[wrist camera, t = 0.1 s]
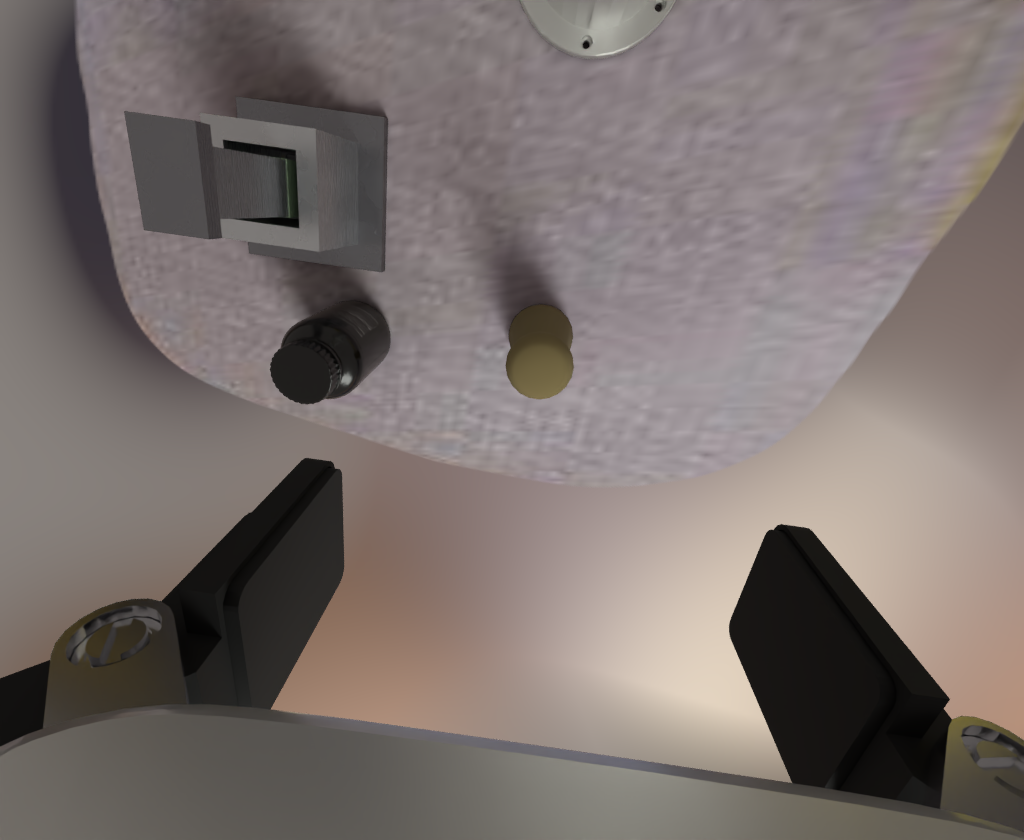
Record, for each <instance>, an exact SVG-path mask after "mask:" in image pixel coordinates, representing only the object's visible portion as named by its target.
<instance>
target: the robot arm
mask: <svg viewBox="0 0 1024 840" xmlns="http://www.w3.org/2000/svg"><path fill="white" fill-rule="evenodd" d="M675 1H676V0H520V2H521V5H522V8H523V10H524V12H525V14H526V16H527V17H528V19H529V21H530V22H531V24H532V26H533V27H534V28H535V29H536V31H537V32H538V33H539V34H540V35H541V36H542V37H543V39H544V40H546V41H547V42H548V43H550V44H551V45H552V46H554V47H555V48H556V49H558V50H560V51H562V52H564V53H566V54H569V55H571V56H574V57H579V58H584V59H604V58H608V57H612V56H616V55H619V54H622V53H624V52H625V51H627V50H629V49H631V48H633V47H635V46H637V45H638V44H639V43H641V42H642V41H643V40H644V39H646V38H647V37H648V36H650V35H651V33H652V32H653V31H654V30H655V29H656V28H657V27H658V26H659V25H660V24H661V22H662V21H663V20H664V19H665V17H666V16H667V14H668V13H669V11H670V10H671V8H672V6H673V5H674V3H675ZM656 5H660V7H661V11H660V12H657V11H656V10H655V6H656ZM584 42H587V43H589V48H588V49H584V48H583V43H584ZM342 497H343V496H342V472H341V470H340V469H335V467H334V464H333V463H332V462H331V461H323V460H317V459H309V458H305V459H303V460H302V461H301V462H300V463H299V464H298V465H297V466H296V467H295V468H294V469H293V470H292V471H291V472H290V473H289V474H288V475H287V476H286V477H285V478H284V479H283V481H282V482H281V483H280V484H279V485H278V486H277V487H276V488H275V489H274V490H273V491H272V492H271V493H270V494H269V495H268V496H267V497H266V498H265V499H264V500H263V501H262V502H261V503H260V504H259V505H258V506H257V508H256V509H255V510H254V511H253V512H251V513H249V514H247V515H246V516H245V517H243V518H242V519H241V521H239V522H238V523H237V524H236V525H235V526H234V528H233V529H232V530H231V531H230V532H229V533H228V534H227V535H226V536H225V537H224V538H223V539H222V540H221V541H220V542H219V543H218V544H217V545H216V546H215V547H214V548H213V549H212V550H211V551H210V552H209V553H208V554H207V555H206V556H205V557H204V558H203V559H202V561H200V562H199V563H198V564H197V565H196V567H194V569H193V570H192V571H191V572H190V573H189V574H188V575H187V576H186V577H185V578H184V579H183V580H182V581H181V582H180V583H179V584H178V585H177V586H176V587H175V588H174V589H173V590H172V591H171V592H170V593H169V594H168V595H167V596H166V597H165V598H164V599H163V600H162V601H157V600H153V599H131V600H126V601H121V602H116V603H113V604H110V605H108V606H105V607H102V608H100V609H97V610H95V611H93V612H92V613H90V614H88V615H87V616H84V617H83V618H81V619H79V620H78V621H77V622H76V623H74V624H73V625H72V626H71V627H69V628H68V629H67V630H66V631H65V632H64V633H63V634H62V635H61V637H60V638H59V639H58V640H57V642H56V643H55V645H54V648H53V651H52V653H51V658H50V660H49V661H46V662H44V663H41V664H38V665H35V666H33V667H30V668H27V669H24V670H22V671H19V672H16V673H14V674H11V675H8V676H6V677H3V678H0V840H1024V740H1022V739H1021V738H1020V737H1018V736H1017V735H1015V734H1013V733H1012V732H1010V731H1009V730H1006V729H1004V728H1002V727H1000V726H998V725H996V724H994V723H992V722H989V721H986V720H983V719H980V718H977V717H969V716H960V717H957V718H955V719H951V718H950V717H949V715H948V714H947V713H946V711H945V710H944V709H943V708H944V707H945V706H946V704H947V703H948V701H949V700H950V699H949V697H948V696H947V695H946V694H945V693H944V691H943V690H942V689H941V688H940V686H939V685H938V684H937V683H936V682H935V680H934V679H933V678H932V677H931V675H930V674H929V673H928V672H927V671H926V669H925V668H924V667H923V666H922V665H921V663H920V662H919V661H918V660H917V658H916V657H915V656H914V655H913V654H912V652H911V651H910V650H909V649H908V647H907V646H906V645H905V644H904V643H903V641H902V640H901V639H900V638H899V637H898V635H897V634H896V633H895V632H894V630H893V629H892V628H891V627H890V625H889V624H888V623H887V622H886V621H885V619H884V618H883V617H882V616H881V614H880V613H879V612H878V611H877V610H876V608H875V607H874V606H873V605H872V603H871V602H870V601H869V600H868V599H867V597H866V596H865V595H864V594H863V592H862V591H861V590H860V589H859V588H858V586H857V585H856V584H855V583H854V581H853V580H852V579H851V578H850V577H849V575H848V574H847V573H846V572H845V571H844V569H843V568H842V567H841V566H840V565H839V563H838V562H837V561H836V559H835V558H834V557H833V556H832V555H831V553H830V552H829V551H828V550H827V549H826V548H825V546H824V545H823V544H822V542H821V541H820V540H819V539H818V538H817V536H816V535H815V534H814V533H813V532H812V531H811V530H810V529H808V528H804V527H796V526H788V525H782V524H781V525H778V526H777V527H776V528H775V529H774V530H769V531H768V532H767V533H766V535H765V537H764V539H763V542H762V544H761V547H760V549H759V551H758V554H757V556H756V559H755V561H754V564H753V566H752V568H751V571H750V574H749V576H748V578H747V581H746V583H745V586H744V588H743V591H742V593H741V595H740V598H739V600H738V603H737V605H736V608H735V610H734V613H733V615H732V617H731V620H730V624H729V633H730V637H731V640H732V643H733V645H734V647H735V650H736V652H737V655H738V657H739V659H740V661H741V664H742V666H743V669H744V671H745V673H746V676H747V678H748V680H749V682H750V685H751V687H752V690H753V692H754V694H755V697H756V699H757V701H758V704H759V706H760V708H761V711H762V713H763V715H764V718H765V720H766V722H767V725H768V727H769V730H770V732H771V734H772V736H773V739H774V741H775V743H776V746H777V748H778V751H779V753H780V755H781V758H782V760H783V762H784V765H785V767H786V769H787V772H788V774H789V776H790V779H791V781H792V783H788V782H781V781H774V780H768V779H761V778H755V777H748V776H741V775H735V774H728V773H722V772H715V771H708V770H702V769H695V768H689V767H682V766H675V765H669V764H662V763H655V762H647V761H641V760H635V759H628V758H621V757H614V756H607V755H600V754H593V753H587V752H580V751H573V750H566V749H559V748H552V747H544V746H538V745H531V744H524V743H517V742H510V741H503V740H497V739H489V738H482V737H474V736H468V735H461V734H453V733H446V732H439V731H431V730H425V729H418V728H410V727H403V726H396V725H389V724H382V723H374V722H367V721H360V720H353V719H345V718H336V717H328V716H320V715H311V714H303V713H295V712H287V711H279V710H271V707H272V706H273V704H274V702H275V700H276V698H277V697H278V695H279V693H280V691H281V689H282V687H283V686H284V684H285V682H286V680H287V678H288V676H289V674H290V673H291V671H292V669H293V667H294V665H295V664H296V662H297V660H298V658H299V656H300V654H301V653H302V651H303V649H304V647H305V646H306V644H307V642H308V640H309V638H310V636H311V635H312V633H313V631H314V629H315V627H316V626H317V624H318V622H319V620H320V618H321V616H322V615H323V613H324V611H325V609H326V607H327V605H328V603H329V602H330V600H331V598H332V596H333V595H334V593H335V590H336V589H337V587H338V585H339V583H340V581H341V579H342V576H343V571H344V543H343V542H344V540H343V502H342V500H343V499H342Z"/></svg>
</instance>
